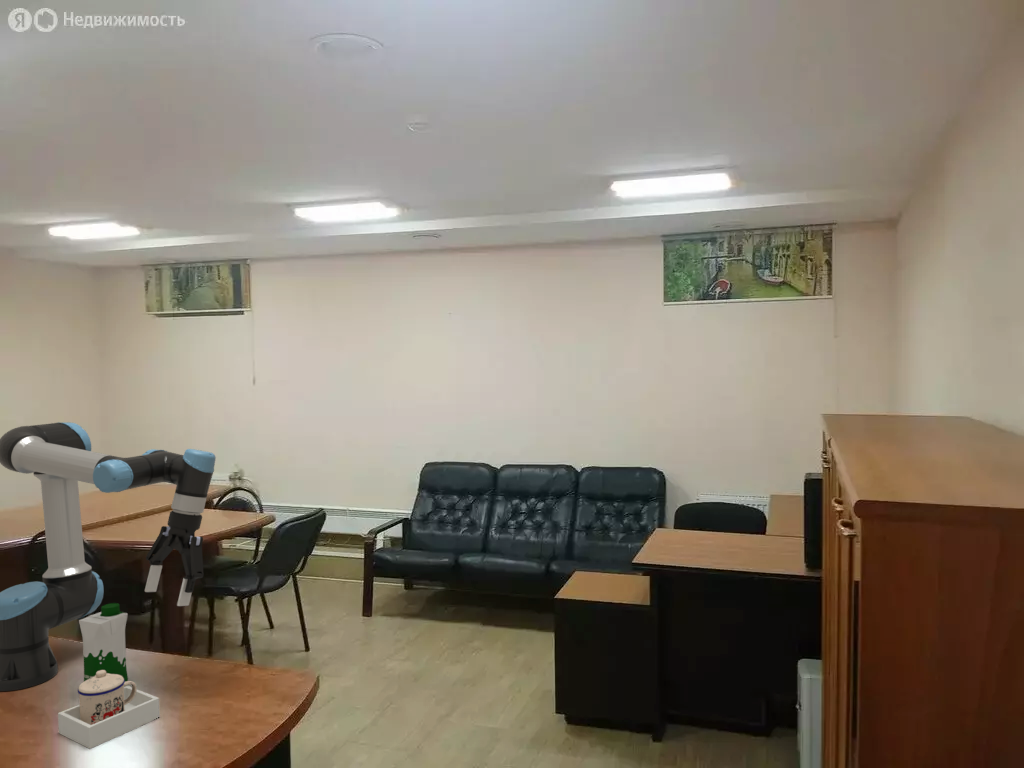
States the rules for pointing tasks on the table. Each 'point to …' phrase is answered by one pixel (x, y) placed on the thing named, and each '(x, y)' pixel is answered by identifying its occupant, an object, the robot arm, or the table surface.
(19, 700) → the table surface
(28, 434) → the robot arm
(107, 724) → the white rectangular tray
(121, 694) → the teacup with lid
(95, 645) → the milk carton
